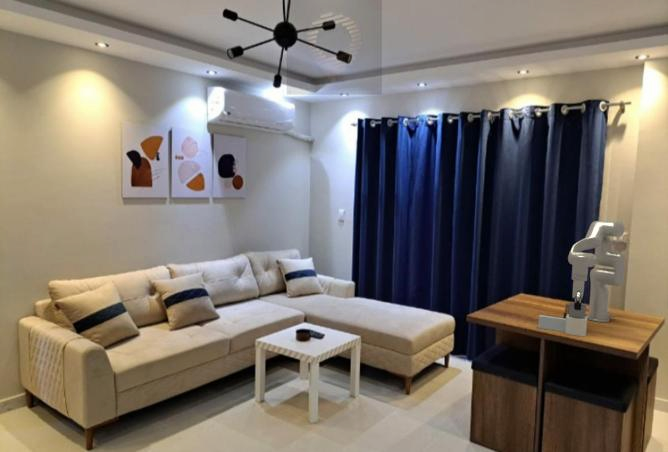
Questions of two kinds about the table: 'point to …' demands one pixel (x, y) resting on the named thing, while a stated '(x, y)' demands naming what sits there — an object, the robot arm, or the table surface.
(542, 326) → the headboard post
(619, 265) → the robot arm
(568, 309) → the ammunition clip
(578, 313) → the steel bracket
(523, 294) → the table surface
